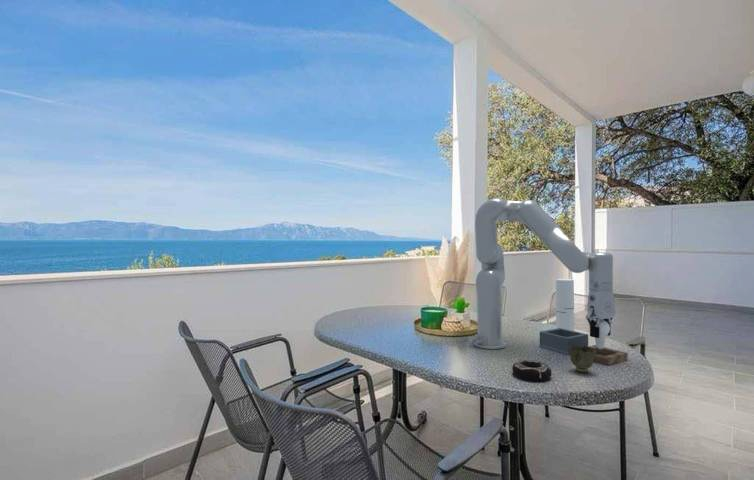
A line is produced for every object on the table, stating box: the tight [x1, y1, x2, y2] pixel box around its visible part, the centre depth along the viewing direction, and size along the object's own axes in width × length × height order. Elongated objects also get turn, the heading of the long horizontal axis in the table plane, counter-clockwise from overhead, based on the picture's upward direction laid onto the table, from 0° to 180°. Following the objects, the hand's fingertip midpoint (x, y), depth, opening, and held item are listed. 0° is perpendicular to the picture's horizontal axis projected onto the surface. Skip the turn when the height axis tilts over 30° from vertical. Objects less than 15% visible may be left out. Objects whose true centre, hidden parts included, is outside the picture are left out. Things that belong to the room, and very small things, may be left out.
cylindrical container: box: [555, 278, 575, 331], centre depth 174 cm, size 7×7×25 cm
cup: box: [569, 345, 595, 374], centre depth 128 cm, size 8×7×8 cm
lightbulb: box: [593, 319, 610, 350], centre depth 142 cm, size 6×6×11 cm
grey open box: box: [539, 327, 589, 356], centre depth 155 cm, size 12×12×6 cm
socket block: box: [588, 344, 629, 367], centre depth 142 cm, size 12×12×2 cm
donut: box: [511, 359, 552, 382], centre depth 125 cm, size 12×12×4 cm
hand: (600, 335), depth 142 cm, fingers closed on lightbulb, 6 cm apart
